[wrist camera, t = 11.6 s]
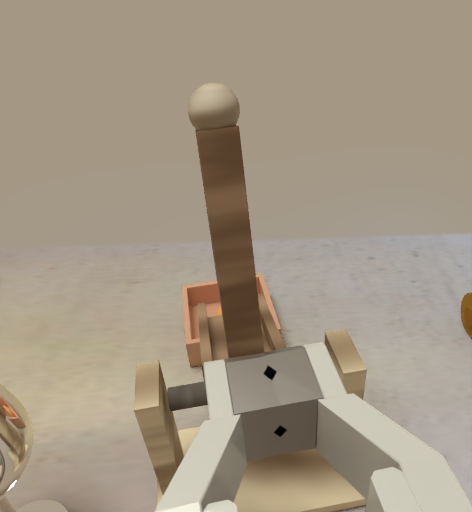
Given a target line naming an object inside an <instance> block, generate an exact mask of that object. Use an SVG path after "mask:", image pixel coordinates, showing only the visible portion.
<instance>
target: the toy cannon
mask: <svg viewBox="0 0 472 512" xmlns="http://www.w3.org/2000/svg"><path fill="white" fill-rule="evenodd" d="M461 318H462V322H463V326H464V328H465V330H466V331H467V333H468V334H469V336H470V337H471V339H472V293H467V294H466V295H465V296H464V298H463V300H462V303H461Z"/></svg>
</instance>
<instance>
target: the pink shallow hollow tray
mask: <svg viewBox="0 0 472 512" xmlns="http://www.w3.org/2000/svg"><path fill="white" fill-rule="evenodd" d="M256 283H257V292H258V294H263V297H264V299H265V301H266V303H267V306H268V308H269V310H270V313H271V315H272V317H273V319H274V322H275V324H276V326H277V328H278V331H279V333H280V335H281V328H280V325H279V322H278V319H277V316H276V313H275V310H274V307H273V304H272V301H271V298H270V295H269V292H268V289H267V286H266V283H265V280H264V277H263V274H256ZM182 296H183V310H184V325H185V339H186V348H187V352H188V357H189V362H190V367H195V366H201V365H202V363H201V350H200V337H199V325H198V312H197V304H199V303H205V305H206V311H207V317H213V316H215V314H216V312H217V310H218V309H219V308H220V307H221V304H220V297H219V290H218V283H217V281H211V282H204V283H198V284H191V285H185V286H182Z"/></svg>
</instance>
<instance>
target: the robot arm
mask: <svg viewBox="0 0 472 512" xmlns="http://www.w3.org/2000/svg"><path fill="white" fill-rule="evenodd" d="M204 376H205V384H206V393H207V401H208V410H209V419H210V420H206V421H203V423H202V425H201V427H200V428H199V430H198V432H197V434H196V436H195V438H194V440H193V441H192V443H191V445H190V447H189V449H188V451H187V452H186V454H185V456H184V458H183V460H182V462H181V464H180V465H179V467H178V469H177V471H176V473H175V475H174V477H173V478H172V480H171V482H170V484H169V486H168V488H167V489H166V491H165V493H164V495H163V497H162V499H161V501H160V502H159V504H158V506H157V508H156V510H155V512H238V511H237V505H236V504H235V503H234V500H235V497H236V494H237V491H238V489H239V486H240V483H241V480H242V477H243V475H244V472H245V469H246V466H247V462H248V461H252V460H257V459H261V458H266V457H270V456H275V455H279V454H285V453H291V452H297V451H303V450H309V449H316V450H317V451H318V452H319V453H320V454H321V455H322V456H323V457H324V458H325V459H326V460H327V461H328V462H329V463H330V464H331V465H332V466H333V467H334V468H335V469H336V470H337V471H338V472H339V473H340V474H341V475H342V476H343V477H344V478H345V479H346V480H347V481H348V482H349V483H350V484H351V485H352V486H353V487H354V488H355V489H356V490H357V491H358V492H359V493H360V494H361V495H362V496H363V497H364V498H365V499H366V500H367V503H366V509H365V512H472V505H471V503H470V501H469V500H468V498H467V496H466V495H465V493H464V491H463V489H462V488H461V486H460V484H459V483H458V481H457V479H456V477H455V476H454V474H453V472H452V470H451V469H450V467H449V465H448V464H447V462H446V460H445V458H444V457H443V455H441V454H440V453H438V452H437V451H435V450H434V449H433V448H431V447H430V446H428V445H427V444H425V443H424V442H423V441H421V440H420V439H418V438H417V437H415V436H414V435H413V434H411V433H410V432H408V431H407V430H405V429H404V428H403V427H401V426H400V425H398V424H397V423H395V422H394V421H393V420H391V419H390V418H388V417H387V416H385V415H384V414H382V413H381V412H380V411H378V410H377V409H375V408H374V407H372V406H371V405H370V404H368V403H367V402H365V401H364V400H362V399H361V398H360V397H358V396H357V395H355V394H354V393H353V394H347V392H346V390H345V387H344V385H343V383H342V381H341V378H340V376H339V374H338V372H337V370H336V367H335V365H334V363H333V361H332V358H331V356H330V354H329V352H328V349H327V347H326V345H325V344H324V343H323V342H319V343H313V344H308V345H303V346H296V347H290V348H285V349H279V350H274V351H269V352H263V353H260V354H253V355H246V356H240V357H233V358H226V359H225V362H224V359H222V360H215V361H208V362H204Z"/></svg>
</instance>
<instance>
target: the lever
mask: <svg viewBox="0 0 472 512" xmlns="http://www.w3.org/2000/svg"><path fill="white" fill-rule="evenodd" d="M239 113H240V108H239V103H238V99H237V97H236V95H235V94H234V93H233V91H232V90H231V89H229V88H228V87H227V86H225V85H223V84H220V83H207V84H204V85H202V86H200V87H199V88H198V89H197V90H195V92H194V93H193V95H192V96H191V98H190V101H189V105H188V114H189V118H190V121H191V123H192V125H193V126H194V127H195V129H196V137H197V144H198V151H199V158H200V164H201V172H202V179H203V186H204V193H205V199H206V207H207V214H208V220H209V227H210V234H211V241H212V248H213V255H214V262H215V269H216V276H217V283H218V290H219V297H220V304H221V311H222V315H219V316H213V317H207V311H206V305H205V303H199V304H197V312H198V325H199V337H200V350H201V363H202V371H203V377H204V382H199V383H194V384H188V385H182V386H176V387H170V388H168V403H169V408H170V411H175V410H180V409H186V408H192V407H197V406H203V405H208V401H207V393H206V384H205V376H204V362H208V361H215V360H222V359H224V362H225V359H226V358H233V357H240V356H246V355H253V354H260V353H263V352H269V351H274V350H279V349H285V348H286V346H285V344H284V342H283V340H282V337H281V335H280V333H279V331H278V328H277V326H276V324H275V322H274V319H273V317H272V315H271V313H270V310H269V308H268V306H267V303H266V301H265V299H264V297H263V294H258V292H257V283H256V274H255V265H254V256H253V247H252V239H251V230H250V221H249V212H248V203H247V195H246V186H245V178H244V169H243V159H242V150H241V141H240V132H239V126H236V123H237V121H238V118H239Z"/></svg>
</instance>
